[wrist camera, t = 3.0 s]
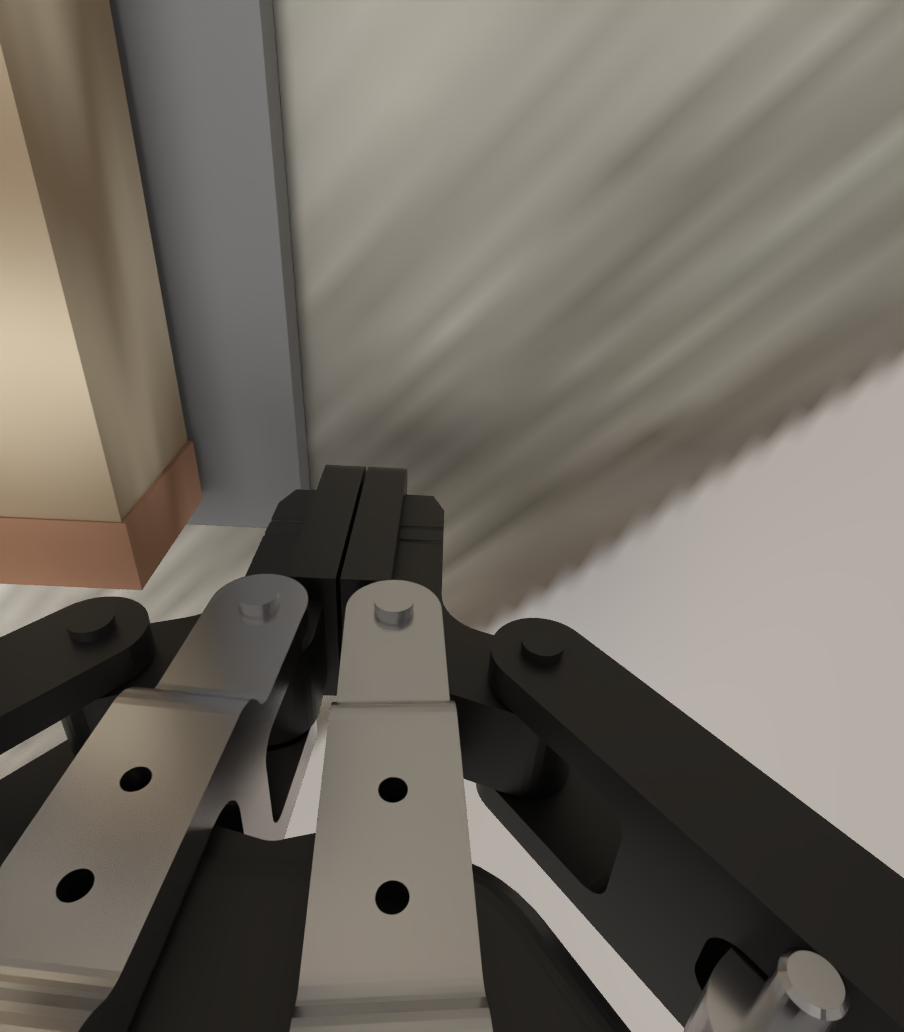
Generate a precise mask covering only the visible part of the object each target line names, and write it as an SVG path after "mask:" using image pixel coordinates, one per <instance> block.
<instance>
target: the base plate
mask: <svg viewBox="0 0 904 1032" xmlns="http://www.w3.org/2000/svg"><path fill="white" fill-rule="evenodd" d="M109 3H110V9H111V15H112V20H113V26H114V31H115V37H116V43H117V48H118V54H119V59H120V65H121V71H122V76H123V82H124V87H125V93H126V99H127V104H128V110H129V115H130V121H131V127H132V132H133V138H134V143H135V149H136V155H137V160H138V166H139V171H140V177H141V183H142V188H143V194H144V199H145V205H146V211H147V216H148V222H149V227H150V233H151V239H152V244H153V250H154V255H155V261H156V266H157V272H158V278H159V283H160V289H161V294H162V300H163V306H164V311H165V317H166V322H167V328H168V334H169V339H170V345H171V350H172V356H173V362H174V367H175V373H176V378H177V384H178V390H179V395H180V401H181V406H182V412H183V418H184V423H185V429H186V434H187V440H188V441H193V445H194V451H195V457H196V463H197V468H198V474H199V480H200V486H201V491H202V497H203V500H202V501H201V503H200V504H199V506H198V507H197V509H196V510H195V512H194V513H193V515H192V516H191V518H190V519H189V521H188V522H187V524H196V525H218V526H239V527H260V528H267V527H268V525H269V523H270V522H271V518H272V516H273V514H274V512H275V510H276V507H277V505H278V503H279V502H280V501H282V500H283V499H284V498H285V497H287V496H288V495H289V494H291V493H292V492H293V491H295V490H296V489H303V490H310V479H309V466H308V453H307V440H306V427H305V414H304V401H303V389H302V376H301V363H300V350H299V337H298V324H297V311H296V298H295V285H294V272H293V259H292V246H291V233H290V220H289V207H288V194H287V181H286V168H285V155H284V142H283V130H282V117H281V104H280V91H279V78H278V65H277V52H276V39H275V26H274V13H273V0H109Z"/></svg>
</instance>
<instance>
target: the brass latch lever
mask: <svg viewBox="0 0 904 1032" xmlns="http://www.w3.org/2000/svg"><path fill="white" fill-rule="evenodd" d="M202 500H203V497H202V491H201V486H200V480H199V474H198V468H197V463H196V457H195V451H194V445H193V441H188V440H187V434H186V429H185V423H184V418H183V412H182V406H181V401H180V395H179V390H178V384H177V378H176V373H175V367H174V362H173V356H172V350H171V345H170V339H169V334H168V328H167V322H166V317H165V311H164V306H163V300H162V294H161V289H160V283H159V278H158V272H157V266H156V261H155V255H154V250H153V244H152V239H151V233H150V227H149V222H148V216H147V211H146V205H145V199H144V194H143V188H142V183H141V177H140V171H139V166H138V160H137V155H136V149H135V143H134V138H133V132H132V127H131V121H130V115H129V110H128V104H127V99H126V93H125V87H124V82H123V76H122V71H121V65H120V59H119V54H118V48H117V43H116V37H115V31H114V26H113V20H112V15H111V9H110V3H109V0H0V583H2V584H23V585H45V586H66V587H88V588H109V589H131V590H142V589H143V588H144V586H145V585H146V583H147V582H148V580H149V579H150V577H151V576H152V574H153V573H154V571H155V570H156V568H157V567H158V565H159V564H160V562H161V561H162V559H163V558H164V556H165V555H166V553H167V552H168V550H169V549H170V547H171V546H172V544H173V543H174V541H175V540H176V538H177V537H178V535H179V534H180V532H181V531H182V529H183V528H184V526H185V525H186V524H187V522H188V521H189V519H190V518H191V516H192V515H193V513H194V512H195V510H196V509H197V507H198V506H199V504H200V503H201V501H202Z"/></svg>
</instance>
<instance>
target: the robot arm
mask: <svg viewBox="0 0 904 1032" xmlns="http://www.w3.org/2000/svg"><path fill="white" fill-rule="evenodd" d="M443 529H444V510H443V509H442V507H441V506H440V505H439V503H438V502H437V501H436V499H435V498H434V496H422V495H407V469H398V468H379V467H368V469H367V471H366V467H358V466H339V465H326V466H325V469H324V471H323V474H322V477H321V479H320V482H319V485H318V488H317V490H303V489H296V490H295V491H293V492H292V493H291V494H289V495H288V496H287V497H285V498H284V499H283V500H282V501H280V502H279V503H278V505H277V507H276V510H275V512H274V514H273V516H272V518H271V522H270V523H269V525H268V527H267V529H266V532H265V536H263V538H262V540H261V543H260V545H259V547H258V549H257V551H256V554H255V556H254V558H253V560H252V563H251V565H250V567H249V569H248V571H247V574H246V576H245V577H242V578H239V579H237V580H234V581H232V582H230V583H228V584H226V585H225V586H223V587H222V588H221V589H219V590H218V591H217V592H216V593H215V595H214V596H213V597H212V599H211V600H210V602H209V603H208V605H207V607H206V608H205V610H204V611H203V613H202V614H199V615H195V616H191V617H186V618H180V619H174V620H168V621H162V622H156V623H150V621H149V617H148V613H147V611H146V609H145V608H144V607H143V606H142V605H141V604H140V603H138V602H136V601H134V600H131V599H128V598H123V597H99V598H93V599H88V600H84V601H81V602H78V603H75V604H72V605H70V606H67V607H65V608H63V609H61V610H59V611H57V612H54V613H52V614H50V615H48V616H46V617H44V618H41V619H39V620H37V621H35V622H33V623H31V624H29V625H26V626H24V627H22V628H20V629H18V630H16V631H13V632H11V633H9V634H7V635H5V636H3V637H0V755H1V754H2V753H4V752H6V751H8V750H9V749H11V748H13V747H15V746H16V745H18V744H20V743H22V742H23V741H25V740H27V739H29V738H30V737H32V736H34V735H36V734H37V733H39V732H41V731H43V730H44V729H46V728H48V727H50V726H51V725H53V724H55V723H57V722H58V721H60V720H61V721H62V724H63V727H64V730H65V733H66V736H67V739H68V740H66V741H64V742H63V743H61V744H59V745H58V746H56V747H54V748H53V749H51V750H49V751H48V752H46V753H44V754H43V755H41V756H39V757H38V758H36V759H34V760H33V761H31V762H29V763H28V764H26V765H24V766H23V767H21V768H19V769H18V770H16V771H14V772H12V773H11V774H9V775H7V776H6V777H4V778H2V779H1V780H0V1032H631V1031H630V1030H629V1028H628V1027H627V1026H626V1025H625V1023H624V1022H623V1021H622V1020H621V1018H620V1017H619V1016H618V1015H617V1013H616V1012H615V1011H614V1009H613V1008H612V1007H611V1005H610V1004H609V1003H608V1002H607V1000H606V999H605V998H604V997H603V995H602V994H601V993H600V991H599V990H598V989H597V988H596V986H595V985H594V984H593V983H592V981H591V980H590V979H589V977H588V976H587V975H586V974H585V972H584V971H583V970H582V969H581V967H580V966H579V965H578V963H577V962H576V961H575V960H574V958H573V957H572V956H571V955H570V953H569V952H568V951H567V950H566V948H565V947H564V946H563V944H562V943H561V942H560V940H559V939H558V938H557V937H556V935H555V934H554V933H553V932H552V930H551V929H550V928H549V926H548V925H547V924H546V923H545V921H544V920H543V919H542V918H541V917H540V915H539V914H538V913H537V912H536V911H535V909H533V907H532V906H531V905H529V904H528V903H527V902H526V901H525V900H524V899H523V898H522V897H521V896H520V895H519V894H518V893H517V892H516V891H515V890H513V889H512V888H511V887H509V886H508V885H507V884H506V883H504V882H503V881H502V880H500V879H499V878H497V877H495V876H494V875H492V874H490V873H489V872H487V871H485V870H484V869H482V868H480V867H478V866H476V865H474V864H472V862H471V851H470V841H469V832H468V820H467V810H466V801H465V790H464V779H466V780H469V781H472V782H475V783H476V787H477V791H478V794H479V796H480V798H481V800H482V801H483V802H484V804H485V805H486V806H487V807H488V809H489V810H490V811H491V812H492V813H493V814H494V815H495V816H496V818H497V819H498V820H499V821H500V822H501V823H502V824H503V825H504V827H505V828H506V829H507V830H508V831H509V832H510V833H511V834H512V835H513V836H514V838H515V839H516V840H517V841H518V842H519V843H520V844H521V846H522V847H523V848H524V849H525V850H526V851H527V852H528V853H529V855H530V856H531V857H532V858H533V859H534V860H535V861H536V862H537V864H538V865H539V866H540V867H541V868H542V869H543V870H544V871H545V872H546V874H547V875H548V876H549V877H550V878H551V879H552V880H553V881H554V883H555V884H556V885H557V886H558V887H559V888H560V889H561V890H562V892H563V893H564V894H565V895H566V896H567V897H568V898H569V899H570V901H571V902H572V903H573V904H574V905H575V906H576V907H577V908H578V909H579V911H580V912H581V913H582V914H583V915H584V916H585V917H586V918H587V920H588V921H589V922H590V923H591V924H592V925H593V926H594V927H595V929H596V930H597V931H598V932H599V933H600V934H601V935H602V936H603V938H604V939H605V940H606V941H607V942H608V943H609V944H610V945H611V946H612V947H613V949H614V950H615V951H616V952H617V953H618V954H619V955H620V957H621V958H622V959H623V960H624V961H625V962H626V963H627V964H628V965H629V967H630V968H631V969H632V970H633V971H634V972H635V973H636V974H637V976H638V977H639V978H640V979H641V980H642V981H643V982H644V983H645V985H646V986H647V987H648V988H649V989H650V990H651V991H652V992H653V994H654V995H655V996H656V997H657V998H658V999H659V1000H660V1001H661V1002H662V1004H663V1005H664V1006H665V1007H666V1008H667V1009H668V1010H669V1012H670V1013H671V1014H672V1015H673V1016H674V1017H675V1018H676V1019H677V1021H678V1022H679V1023H680V1024H681V1025H682V1026H683V1027H684V1032H904V878H903V877H901V876H900V875H899V874H897V873H896V872H895V871H893V870H892V869H891V868H889V867H888V866H887V865H885V864H884V863H883V862H882V861H880V860H879V859H877V858H876V857H875V856H874V855H872V854H871V853H870V852H868V851H867V850H865V849H864V848H863V847H862V846H860V845H859V844H858V843H856V842H855V841H854V840H852V839H851V838H850V837H848V836H847V835H846V834H844V833H843V832H842V831H840V830H839V829H838V828H836V827H835V826H834V825H832V824H831V823H830V822H828V821H827V820H826V819H824V818H823V817H822V816H820V815H819V814H818V813H816V812H815V811H814V810H812V809H811V808H810V807H808V806H807V805H806V804H804V803H803V802H802V801H801V800H799V799H798V798H796V797H795V796H794V795H793V794H791V793H790V792H789V791H787V790H786V789H785V788H783V787H782V786H781V785H779V784H778V783H777V782H775V781H774V780H773V779H771V778H770V777H769V776H767V775H766V774H765V773H763V772H762V771H761V770H759V769H758V768H757V767H755V766H754V765H753V764H751V763H750V762H749V761H747V760H746V759H745V758H743V757H742V756H741V755H739V754H738V753H737V752H735V751H734V750H733V749H731V748H730V747H729V746H727V745H726V744H725V743H723V742H722V741H721V740H720V739H718V738H717V737H716V736H714V735H713V734H711V733H710V732H709V731H708V730H706V729H705V728H704V727H702V726H701V725H700V724H698V723H697V722H695V721H694V720H693V719H692V718H690V717H689V716H687V715H686V714H685V713H684V712H682V711H681V710H680V709H678V708H677V707H676V706H674V705H673V704H672V703H670V702H669V701H668V700H666V699H665V698H664V697H662V696H661V695H660V694H658V693H657V692H656V691H654V690H653V689H652V688H650V687H649V686H648V685H646V684H645V683H644V682H643V681H641V680H640V679H638V678H637V677H636V676H635V675H633V674H632V673H631V672H629V671H628V670H626V669H625V668H624V667H623V666H621V665H620V664H619V663H617V662H616V661H615V660H613V659H612V658H611V657H609V656H608V655H607V654H605V653H604V652H603V651H601V650H600V649H599V648H597V647H596V646H595V645H593V644H592V643H591V642H589V641H588V640H587V639H585V638H584V637H583V636H581V635H580V634H578V633H577V632H576V631H574V630H573V629H571V628H570V627H568V626H566V625H564V624H561V623H559V622H556V621H552V620H547V619H541V618H525V619H519V620H515V621H512V622H510V623H507V624H506V625H504V626H502V627H501V628H500V629H499V630H498V631H497V632H496V633H495V635H491V634H488V633H484V632H481V631H478V630H475V629H472V628H470V627H468V626H465V625H463V624H462V623H460V622H459V621H457V620H456V619H455V618H454V617H452V616H451V615H450V614H449V612H448V611H447V610H446V608H445V606H444V604H443V601H442V595H441V593H442V561H443ZM323 695H334V696H337V698H336V702H332V703H331V707H330V712H329V720H328V729H327V738H326V748H325V757H324V765H323V774H322V783H321V791H320V792H321V793H320V801H319V809H318V818H317V828H316V833H313V834H308V835H303V836H298V837H293V838H288V839H284V837H285V834H286V831H287V827H288V824H289V821H290V818H291V815H292V812H293V808H294V806H295V802H296V799H297V796H298V793H299V790H300V787H301V783H302V781H303V778H304V774H305V771H306V768H307V765H308V762H309V759H310V756H311V752H312V749H313V746H314V743H315V740H316V736H317V717H318V714H319V710H320V706H321V702H322V697H323ZM463 778H464V779H463Z"/></svg>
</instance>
